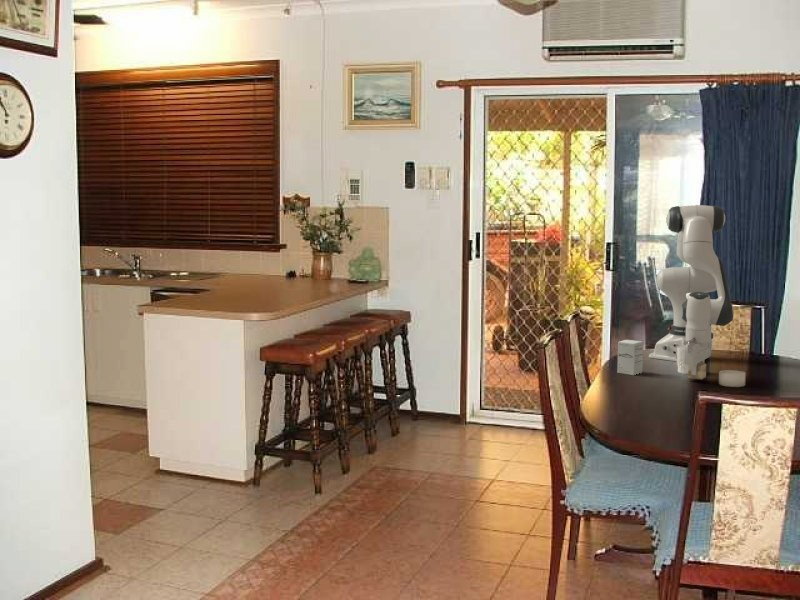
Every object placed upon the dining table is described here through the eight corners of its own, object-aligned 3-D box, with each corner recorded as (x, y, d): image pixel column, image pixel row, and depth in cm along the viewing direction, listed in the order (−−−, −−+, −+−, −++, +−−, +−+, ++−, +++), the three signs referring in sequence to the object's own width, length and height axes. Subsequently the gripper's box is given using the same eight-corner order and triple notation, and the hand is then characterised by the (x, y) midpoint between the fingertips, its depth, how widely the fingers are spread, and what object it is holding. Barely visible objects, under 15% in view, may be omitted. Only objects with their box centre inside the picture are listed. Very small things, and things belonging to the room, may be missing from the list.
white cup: (698, 371, 346) (699, 346, 345) (696, 374, 339) (696, 349, 338) (677, 369, 349) (678, 345, 348) (674, 373, 342) (675, 348, 341)
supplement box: (616, 373, 344) (617, 341, 343) (626, 370, 349) (626, 339, 348) (633, 375, 339) (634, 343, 338) (643, 372, 344) (643, 341, 343)
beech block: (688, 377, 326) (688, 364, 326) (692, 375, 330) (692, 362, 330) (701, 379, 323) (701, 366, 323) (705, 376, 327) (706, 363, 327)
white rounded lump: (715, 385, 320) (715, 373, 320) (723, 381, 327) (723, 369, 327) (741, 388, 315) (741, 375, 314) (748, 383, 322) (748, 371, 321)
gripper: (697, 341, 315) (696, 379, 317) (715, 333, 331) (714, 369, 333) (679, 339, 319) (679, 377, 320) (698, 331, 335) (697, 367, 337)
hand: (697, 373), depth 327 cm, fingers closed on beech block, 5 cm apart
